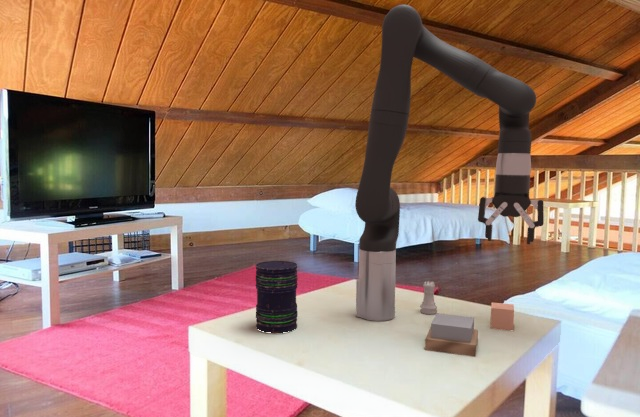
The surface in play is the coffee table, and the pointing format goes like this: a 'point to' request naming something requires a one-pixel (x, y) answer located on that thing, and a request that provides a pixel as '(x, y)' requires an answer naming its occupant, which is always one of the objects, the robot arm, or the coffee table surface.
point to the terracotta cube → (502, 316)
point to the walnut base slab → (452, 345)
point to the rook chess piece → (428, 299)
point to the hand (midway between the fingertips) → (508, 242)
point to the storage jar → (276, 296)
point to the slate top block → (452, 327)
